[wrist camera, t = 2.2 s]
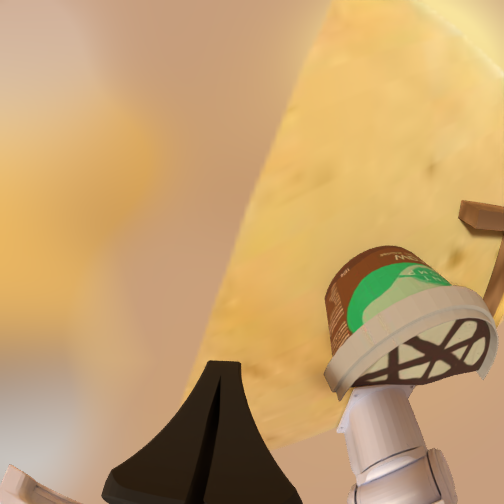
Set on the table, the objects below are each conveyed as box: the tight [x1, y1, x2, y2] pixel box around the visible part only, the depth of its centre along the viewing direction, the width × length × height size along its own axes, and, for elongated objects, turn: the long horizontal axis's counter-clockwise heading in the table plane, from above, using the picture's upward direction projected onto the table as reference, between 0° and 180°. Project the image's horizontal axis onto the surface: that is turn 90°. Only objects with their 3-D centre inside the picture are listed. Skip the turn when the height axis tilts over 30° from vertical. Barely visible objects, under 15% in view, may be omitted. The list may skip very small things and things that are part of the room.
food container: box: [324, 246, 498, 401], centre depth 16 cm, size 12×6×10 cm, turn 85°
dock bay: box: [458, 200, 504, 329], centre depth 19 cm, size 12×8×3 cm
